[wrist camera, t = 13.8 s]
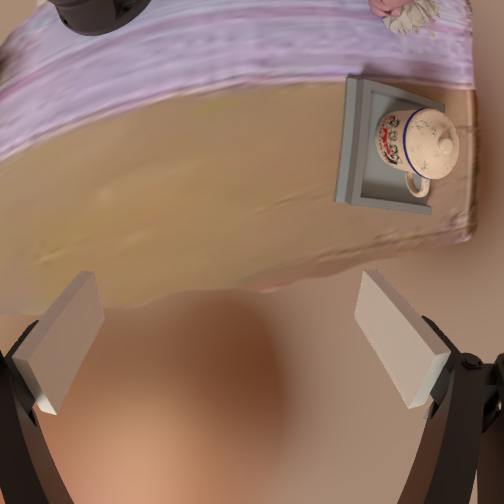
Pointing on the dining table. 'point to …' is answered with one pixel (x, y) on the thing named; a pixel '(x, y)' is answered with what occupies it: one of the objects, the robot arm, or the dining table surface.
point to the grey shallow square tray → (365, 153)
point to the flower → (405, 13)
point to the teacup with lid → (418, 145)
